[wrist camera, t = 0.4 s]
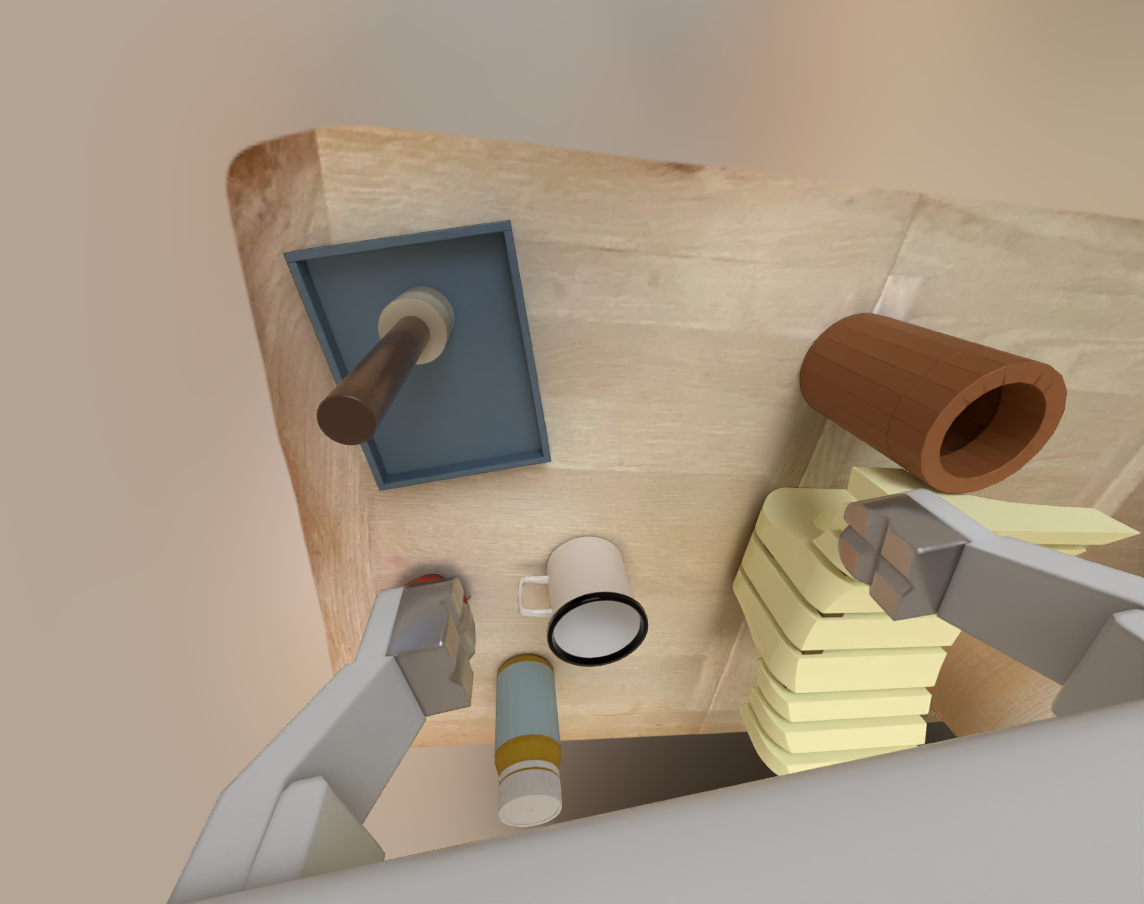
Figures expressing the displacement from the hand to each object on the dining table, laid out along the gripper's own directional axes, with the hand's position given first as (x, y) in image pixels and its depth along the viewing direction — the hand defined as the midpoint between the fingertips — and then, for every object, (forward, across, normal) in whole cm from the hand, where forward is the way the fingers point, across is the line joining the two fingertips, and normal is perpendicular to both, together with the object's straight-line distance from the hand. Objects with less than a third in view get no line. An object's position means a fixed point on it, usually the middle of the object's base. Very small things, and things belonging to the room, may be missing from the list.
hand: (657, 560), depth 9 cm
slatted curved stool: (+30, -24, +30) cm, 49 cm away
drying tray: (+30, +10, +4) cm, 31 cm away
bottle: (+29, +10, +44) cm, 54 cm away
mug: (+30, +2, +28) cm, 41 cm away
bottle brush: (+29, +9, 0) cm, 31 cm away
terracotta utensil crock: (+30, -26, +10) cm, 41 cm away
